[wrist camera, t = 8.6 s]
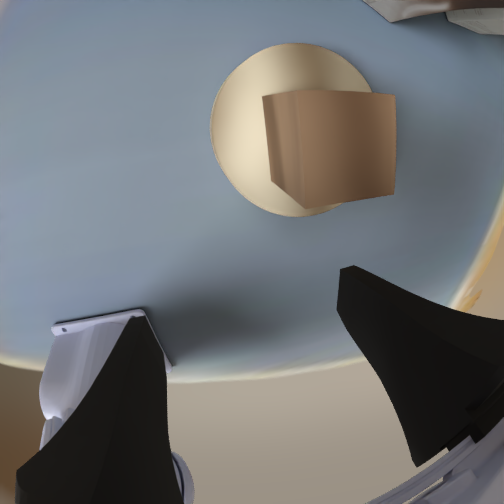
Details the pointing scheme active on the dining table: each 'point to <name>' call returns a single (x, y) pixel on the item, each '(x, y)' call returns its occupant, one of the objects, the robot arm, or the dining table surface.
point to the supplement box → (479, 19)
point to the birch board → (253, 123)
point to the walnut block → (331, 145)
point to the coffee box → (426, 7)
